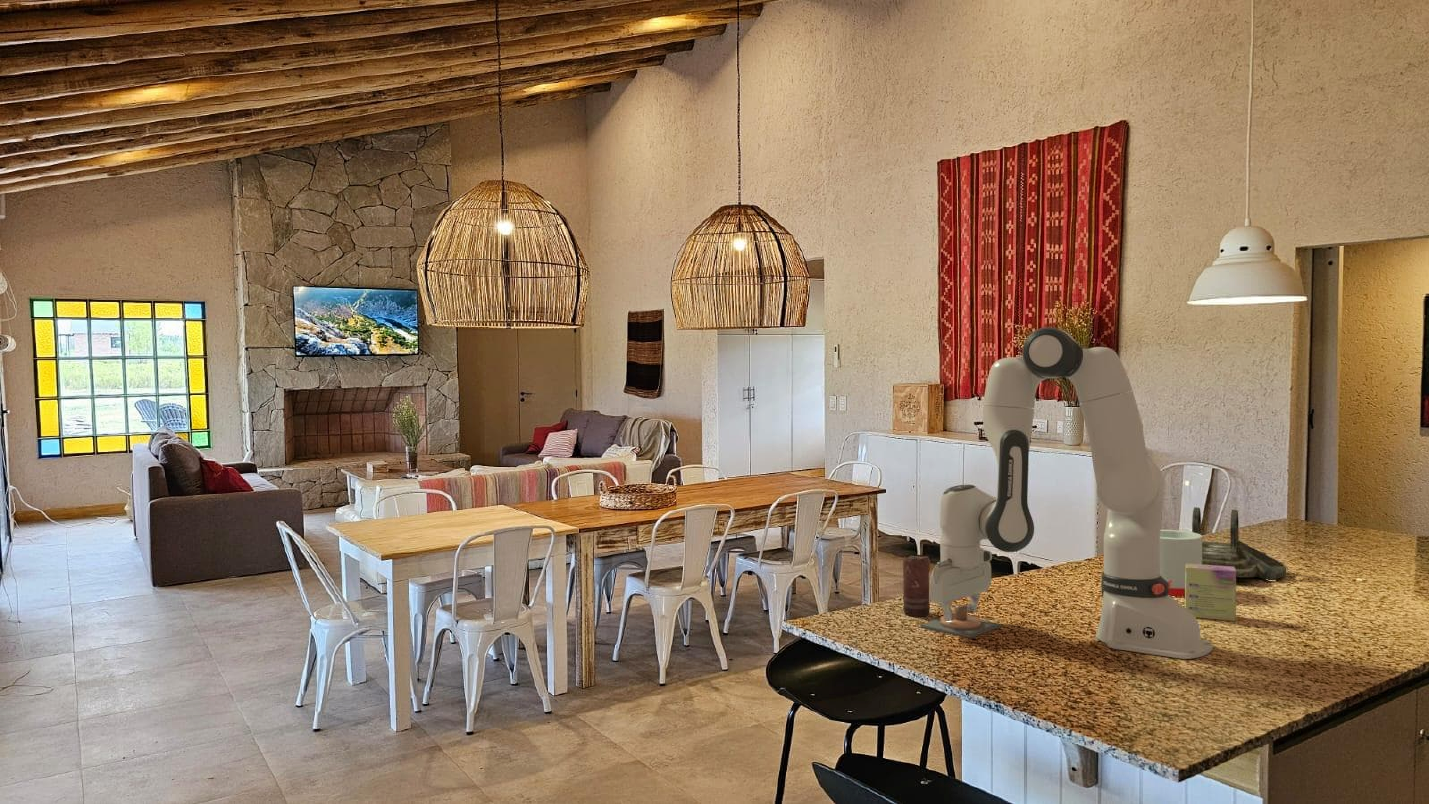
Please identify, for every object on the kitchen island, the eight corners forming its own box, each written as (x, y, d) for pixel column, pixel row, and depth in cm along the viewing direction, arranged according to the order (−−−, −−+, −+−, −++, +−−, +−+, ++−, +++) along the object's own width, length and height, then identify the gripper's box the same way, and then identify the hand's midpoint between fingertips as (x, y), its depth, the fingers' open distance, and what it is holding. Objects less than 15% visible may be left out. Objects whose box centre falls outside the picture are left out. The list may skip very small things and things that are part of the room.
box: (1234, 615, 222) (1234, 565, 221) (1236, 621, 216) (1236, 570, 216) (1184, 611, 226) (1184, 562, 226) (1185, 617, 221) (1185, 567, 220)
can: (930, 617, 225) (930, 559, 224) (903, 616, 226) (902, 558, 226) (930, 611, 231) (929, 554, 230) (903, 610, 232) (903, 553, 231)
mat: (1001, 626, 216) (1001, 624, 216) (970, 638, 207) (970, 635, 207) (952, 616, 225) (952, 614, 225) (920, 627, 216) (920, 624, 216)
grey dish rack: (1163, 555, 294) (1163, 497, 293) (1290, 567, 274) (1290, 505, 273) (1139, 576, 265) (1138, 512, 265) (1278, 591, 246) (1278, 521, 245)
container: (1139, 594, 243) (1138, 538, 243) (1135, 581, 258) (1135, 528, 258) (1208, 599, 238) (1208, 541, 237) (1200, 585, 252) (1200, 530, 252)
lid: (988, 624, 216) (988, 605, 216) (967, 632, 210) (967, 613, 210) (954, 617, 222) (954, 599, 222) (932, 624, 216) (932, 606, 216)
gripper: (946, 565, 206) (947, 628, 207) (995, 551, 220) (996, 610, 221) (922, 561, 211) (922, 622, 211) (972, 548, 225) (972, 606, 225)
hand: (960, 616), depth 216 cm, fingers open, 8 cm apart
